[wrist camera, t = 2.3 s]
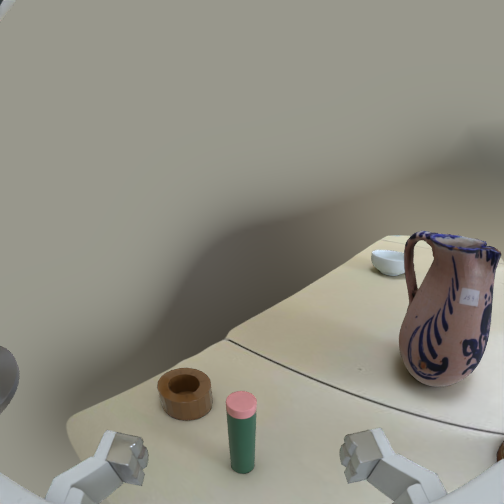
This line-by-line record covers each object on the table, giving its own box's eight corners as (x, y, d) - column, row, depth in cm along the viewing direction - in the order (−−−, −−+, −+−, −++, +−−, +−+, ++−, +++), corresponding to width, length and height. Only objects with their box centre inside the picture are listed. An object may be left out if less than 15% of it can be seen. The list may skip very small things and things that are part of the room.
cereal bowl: (417, 280, 86) (420, 261, 85) (376, 279, 89) (379, 260, 87) (401, 266, 103) (403, 250, 101) (364, 265, 105) (366, 248, 103)
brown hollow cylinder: (170, 426, 32) (165, 407, 30) (156, 392, 38) (152, 374, 37) (221, 411, 35) (219, 393, 34) (201, 381, 42) (199, 363, 41)
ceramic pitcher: (453, 415, 28) (513, 263, 22) (357, 367, 45) (382, 230, 38) (477, 365, 38) (513, 245, 31) (400, 333, 54) (420, 223, 48)
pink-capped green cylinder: (237, 476, 24) (234, 415, 21) (227, 461, 26) (220, 396, 23) (258, 468, 25) (262, 404, 22) (247, 453, 28) (247, 387, 25)
